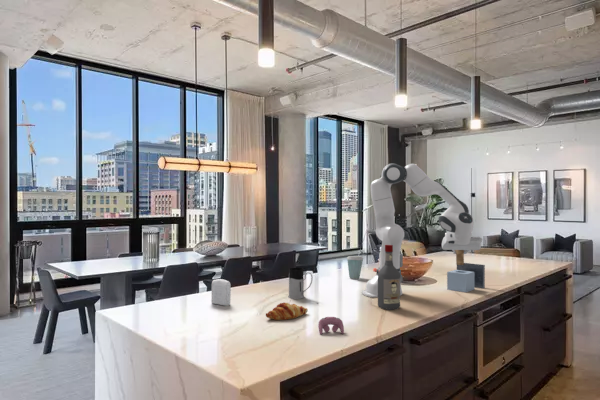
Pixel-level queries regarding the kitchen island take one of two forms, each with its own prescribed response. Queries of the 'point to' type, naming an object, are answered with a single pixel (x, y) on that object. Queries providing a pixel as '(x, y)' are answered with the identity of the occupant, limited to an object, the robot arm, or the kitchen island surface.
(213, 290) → the gravestone
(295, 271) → the grey mug
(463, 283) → the socket block
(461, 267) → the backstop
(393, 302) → the liquor
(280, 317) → the croissant
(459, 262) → the dowel
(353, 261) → the disposable coffee cup
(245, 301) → the kitchen island surface
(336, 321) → the video game controller
